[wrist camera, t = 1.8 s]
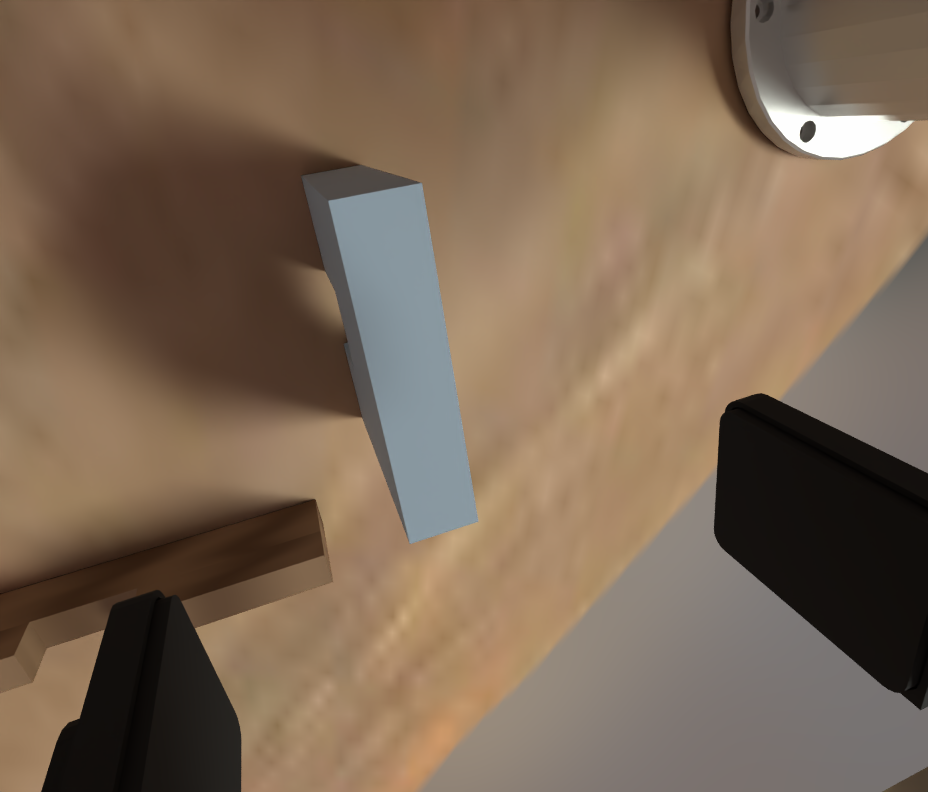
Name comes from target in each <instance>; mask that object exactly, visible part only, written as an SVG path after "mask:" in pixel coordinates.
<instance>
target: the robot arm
mask: <svg viewBox="0 0 928 792" xmlns="http://www.w3.org/2000/svg"><path fill="white" fill-rule="evenodd" d="M731 44H732V59H733V64H734V69H735V74H736V78H737V83H738V88H739V90H740V93H741V95H742V98H743V100H744V103H745V105H746V108H747V110H748V112H749V114H750V116H751V117H752V118H753V120H754V121H755V123H756V124H757V126H758V127H759V129H760V130H761V132H762V133H763V134H764V135H765V136H766V137H767V138H769V139H770V140H771V141H772V142H773V143H774V144H775V145H776V146H777V147H779V148H781V149H783V150H785V151H787V152H789V153H791V154H793V155H795V156H799V157H804V158H810V159H816V160H843V159H847V158H852V157H857V156H861V155H864V154H866V153H868V152H870V151H872V150H874V149H877V148H879V147H881V146H883V145H884V144H886V143H887V142H889V141H890V140H892V139H893V138H894V137H896V136H897V135H899V134H900V133H902V132H903V131H904V130H905V129H906V128H907V127H908V126H909V125H910V124H911V123H913V122H914V121H918V120H928V0H733V1H732V13H731ZM714 534H715V537H716V539H717V541H718V543H719V545H720V546H721V547H722V548H723V549H724V550H725V551H726V552H727V553H728V554H729V555H731V556H732V557H733V558H734V559H735V560H736V561H737V562H739V563H740V564H741V565H742V566H743V567H745V568H746V569H747V570H748V571H749V572H750V573H752V574H753V575H754V576H755V577H756V578H757V579H759V580H760V581H761V582H762V583H763V584H765V585H766V586H767V587H768V588H769V589H770V590H772V591H773V592H774V593H775V594H776V595H777V596H779V597H780V598H781V599H782V600H783V601H784V602H786V603H787V604H788V605H789V606H790V607H792V608H793V609H794V610H795V611H796V612H797V613H798V614H800V615H801V616H802V617H803V618H804V619H805V620H807V621H808V622H809V623H810V624H811V625H813V626H814V627H815V628H816V629H817V630H818V631H819V632H821V633H822V634H823V635H824V636H825V637H826V638H828V639H829V640H830V641H831V642H832V643H834V644H835V645H836V646H837V647H838V648H839V649H841V650H842V651H843V652H844V653H845V654H846V655H848V656H849V657H850V658H851V659H852V660H854V661H855V662H856V663H857V664H858V665H859V666H861V667H862V668H863V669H864V670H865V671H866V672H868V673H869V674H870V675H871V676H872V677H873V678H874V679H876V680H877V681H878V682H879V683H880V684H882V685H883V686H884V687H886V688H887V689H888V690H891V691H893V692H897V693H901V694H902V695H903V696H904V697H906V698H907V699H908V700H909V701H910V702H912V703H913V704H914V705H915V706H916V707H917V708H919V709H920V710H922V709H924V708H926V707H928V473H926V472H924V471H922V470H920V469H918V468H916V467H913V466H912V465H909V464H908V463H905V462H903V461H901V460H899V459H897V458H895V457H893V456H891V455H889V454H887V453H885V452H883V451H881V450H879V449H876V448H875V447H873V446H871V445H868V444H866V443H864V442H862V441H860V440H858V439H856V438H854V437H852V436H850V435H848V434H846V433H844V432H842V431H840V430H838V429H836V428H834V427H831V426H829V425H827V424H825V423H823V422H821V421H819V420H817V419H815V418H813V417H811V416H809V415H807V414H805V413H803V412H801V411H799V410H797V409H795V408H793V407H791V406H789V405H787V404H784V403H782V402H780V401H778V400H776V399H774V398H772V397H770V396H768V395H765V394H762V393H760V394H754V395H751V396H748V397H745V398H742V399H739V400H736V401H733V402H731V403H729V404H728V405H727V407H726V409H725V413H724V414H722V416H721V418H720V428H719V446H718V465H717V483H716V502H715V519H714ZM41 792H241V731H240V726H239V721H238V718H237V715H236V713H235V711H234V709H233V707H232V704H231V702H230V700H229V698H228V696H227V694H226V692H225V690H224V688H223V686H222V684H221V682H220V680H219V678H218V676H217V674H216V672H215V670H214V667H213V665H212V663H211V661H210V659H209V657H208V655H207V653H206V651H205V649H204V647H203V645H202V643H201V641H200V639H199V637H198V635H197V633H196V630H195V628H194V626H193V624H192V622H191V620H190V618H189V616H188V614H187V612H186V610H185V608H184V606H183V604H182V602H181V600H180V598H179V597H178V596H177V595H172V596H169V597H166V598H165V596H164V594H163V593H162V592H161V591H160V590H154V591H151V592H148V593H145V594H142V595H139V596H136V597H133V598H130V599H127V600H124V601H121V602H117V603H115V604H114V605H113V606H112V608H111V610H110V614H109V617H108V621H107V624H106V628H105V631H104V635H103V638H102V642H101V645H100V649H99V652H98V656H97V659H96V663H95V666H94V670H93V673H92V677H91V680H90V684H89V688H88V691H87V695H86V698H85V702H84V705H83V709H82V712H81V716H80V719H77V720H75V721H72V722H69V723H68V724H67V725H66V726H65V727H64V728H63V730H62V731H61V733H60V736H59V738H58V740H57V743H56V746H55V749H54V752H53V755H52V759H51V762H50V765H49V768H48V771H47V775H46V778H45V781H44V784H43V788H42V791H41ZM883 792H928V767H927V768H925V769H923V770H921V771H920V772H918V773H916V774H914V775H912V776H910V777H909V778H907V779H905V780H903V781H901V782H899V783H897V784H896V785H894V786H892V787H890V788H888V789H886V790H885V791H883Z"/></svg>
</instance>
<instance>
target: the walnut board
mask: <svg viewBox="0 0 928 792" xmlns="http://www.w3.org/2000/svg"><path fill="white" fill-rule="evenodd" d="M331 582H333V578H332V573H331V567H330V561H329V555H328V550H327V544H326V538H325V532H324V527H323V522H322V519H321V516H320V513H319V510H318V507H317V503H316V500H312V501H309V502H305V503H302V504H299V505H295V506H292V507H289V508H285V509H282V510H279V511H275V512H272V513H269V514H265V515H262V516H259V517H255V518H252V519H249V520H245V521H242V522H239V523H236V524H232V525H229V526H226V527H222V528H219V529H216V530H212V531H209V532H206V533H202V534H199V535H196V536H192V537H189V538H186V539H182V540H179V541H176V542H172V543H169V544H166V545H162V546H159V547H156V548H152V549H149V550H146V551H143V552H139V553H136V554H133V555H129V556H126V557H123V558H119V559H116V560H113V561H109V562H106V563H103V564H99V565H96V566H93V567H89V568H86V569H83V570H79V571H76V572H73V573H69V574H66V575H63V576H59V577H56V578H53V579H50V580H46V581H43V582H40V583H36V584H33V585H30V586H26V587H23V588H20V589H16V590H13V591H10V592H6V593H3V594H0V693H2V692H5V691H8V690H11V689H14V688H17V687H20V686H23V685H26V684H29V683H32V682H33V681H34V678H35V676H36V673H37V671H38V668H39V666H40V663H41V661H42V658H43V656H44V653H45V651H46V648H49V647H52V646H55V645H58V644H61V643H64V642H68V641H71V640H74V639H77V638H80V637H83V636H86V635H89V634H92V633H95V632H98V631H101V630H105V628H106V624H107V621H108V617H109V614H110V610H111V608H112V606H113V605H114V604H115V603H117V602H121V601H124V600H127V599H130V598H133V597H136V596H139V595H142V594H145V593H148V592H151V591H154V590H160V591H161V592H162V593H163V594H164V596H165V598H166V597H169V596H172V595H177V596H178V597H179V598H180V600H181V602H182V604H183V606H184V608H185V610H186V612H187V614H188V616H189V618H190V620H191V622H192V624H193V626H194V628H197V627H200V626H203V625H206V624H209V623H212V622H215V621H218V620H221V619H224V618H227V617H230V616H233V615H236V614H239V613H242V612H245V611H248V610H251V609H254V608H257V607H260V606H263V605H266V604H269V603H272V602H275V601H278V600H281V599H284V598H286V597H289V596H292V595H295V594H298V593H301V592H304V591H307V590H310V589H313V588H316V587H319V586H322V585H325V584H328V583H331Z"/></svg>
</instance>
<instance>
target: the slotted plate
mask: <svg viewBox="0 0 928 792" xmlns="http://www.w3.org/2000/svg"><path fill="white" fill-rule="evenodd" d="M301 178H302V182H303V186H304V189H305V193H306V197H307V201H308V205H309V209H310V213H311V217H312V221H313V225H314V229H315V233H316V237H317V241H318V245H319V249H320V253H321V257H322V261H323V265H324V268H325V272H326V274H327V276H328V278H329V280H330V282H331V284H332V286H333V288H334V290H335V292H336V296H337V300H338V304H339V308H340V312H341V316H342V320H343V324H344V328H345V332H346V337H347V341H348V343H344V347H345V351H346V355H347V359H348V363H349V367H350V371H351V375H352V379H353V383H354V387H355V391H356V395H357V399H358V403H359V407H360V411H361V415H362V418H363V421H364V424H365V426H366V429H367V432H368V434H369V437H370V440H371V442H372V445H373V448H374V450H375V453H376V455H377V458H378V461H379V463H380V466H381V469H382V471H383V474H384V477H385V479H386V482H387V485H388V487H389V490H390V493H391V495H392V498H393V501H394V503H395V506H396V509H397V511H398V514H399V516H400V519H401V522H402V524H403V527H404V530H405V532H406V535H407V538H408V540H409V543H410V544H411V543H414V542H418V541H421V540H424V539H427V538H430V537H433V536H436V535H439V534H442V533H445V532H448V531H451V530H454V529H457V528H460V527H463V526H466V525H469V524H472V523H475V522H478V517H477V511H476V505H475V499H474V493H473V487H472V481H471V475H470V469H469V463H468V457H467V451H466V445H465V439H464V433H463V427H462V421H461V415H460V409H459V403H458V397H457V391H456V385H455V379H454V373H453V367H452V361H451V355H450V349H449V343H448V337H447V331H446V325H445V319H444V313H443V307H442V301H441V295H440V289H439V283H438V277H437V271H436V265H435V259H434V253H433V247H432V241H431V235H430V229H429V223H428V217H427V211H426V205H425V199H424V193H423V187H422V183H420V182H417V181H414V180H410V179H407V178H403V177H400V176H397V175H393V174H390V173H387V172H383V171H380V170H377V169H373V168H370V167H366V166H363V165H358V166H352V167H347V168H341V169H336V170H330V171H325V172H319V173H313V174H308V175H302V176H301Z"/></svg>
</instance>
